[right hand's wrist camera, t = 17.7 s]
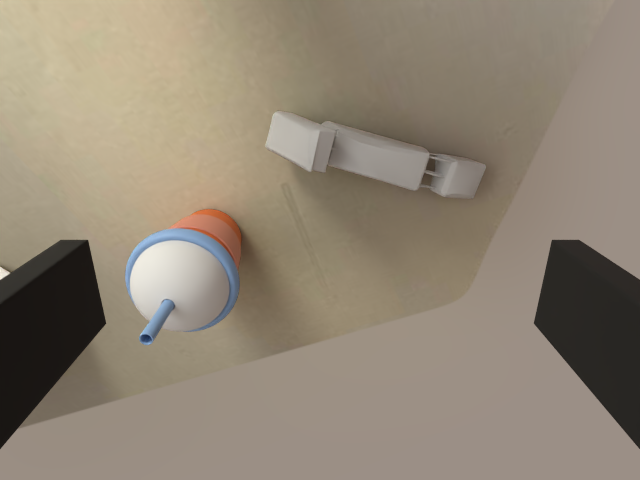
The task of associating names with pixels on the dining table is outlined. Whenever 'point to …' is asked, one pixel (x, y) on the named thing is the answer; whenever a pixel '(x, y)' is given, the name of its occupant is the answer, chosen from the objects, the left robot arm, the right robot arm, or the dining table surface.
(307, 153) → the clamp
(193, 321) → the cup with straw
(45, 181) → the dining table surface
